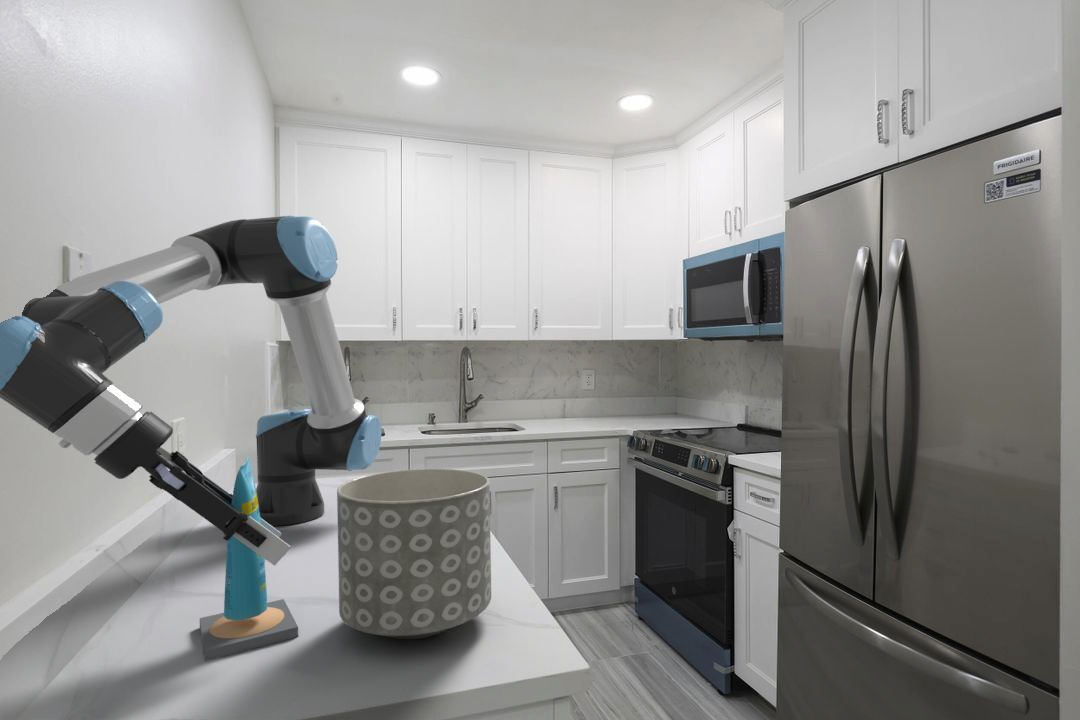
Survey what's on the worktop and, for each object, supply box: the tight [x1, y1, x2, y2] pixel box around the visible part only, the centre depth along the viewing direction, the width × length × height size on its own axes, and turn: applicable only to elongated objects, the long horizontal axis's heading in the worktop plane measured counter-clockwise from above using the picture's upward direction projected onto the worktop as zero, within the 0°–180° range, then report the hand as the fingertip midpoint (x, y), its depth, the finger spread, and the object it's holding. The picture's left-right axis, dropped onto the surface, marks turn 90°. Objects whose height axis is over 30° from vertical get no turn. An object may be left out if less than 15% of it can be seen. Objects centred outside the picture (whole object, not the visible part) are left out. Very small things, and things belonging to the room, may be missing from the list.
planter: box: [336, 468, 492, 640], centre depth 74 cm, size 19×19×18 cm
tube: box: [223, 455, 268, 620], centre depth 72 cm, size 7×5×19 cm, turn 26°
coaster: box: [199, 598, 299, 662], centre depth 72 cm, size 10×10×1 cm
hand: (277, 548), depth 74 cm, fingers closed on tube, 6 cm apart
